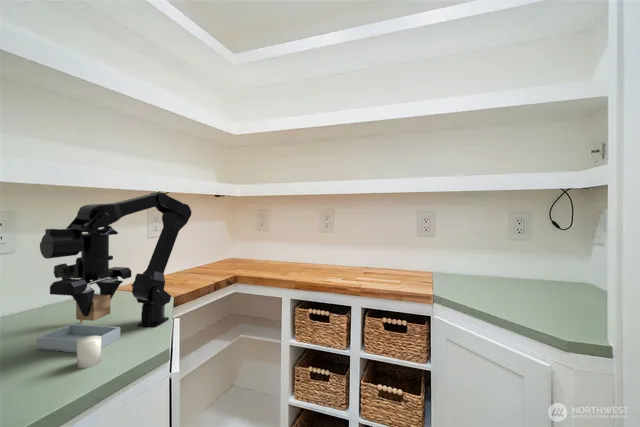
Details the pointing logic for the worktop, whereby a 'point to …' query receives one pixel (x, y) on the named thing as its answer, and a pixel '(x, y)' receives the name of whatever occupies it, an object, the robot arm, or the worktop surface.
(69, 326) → the grey blue tray
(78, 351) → the cream cylinder
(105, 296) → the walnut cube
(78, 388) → the worktop surface
